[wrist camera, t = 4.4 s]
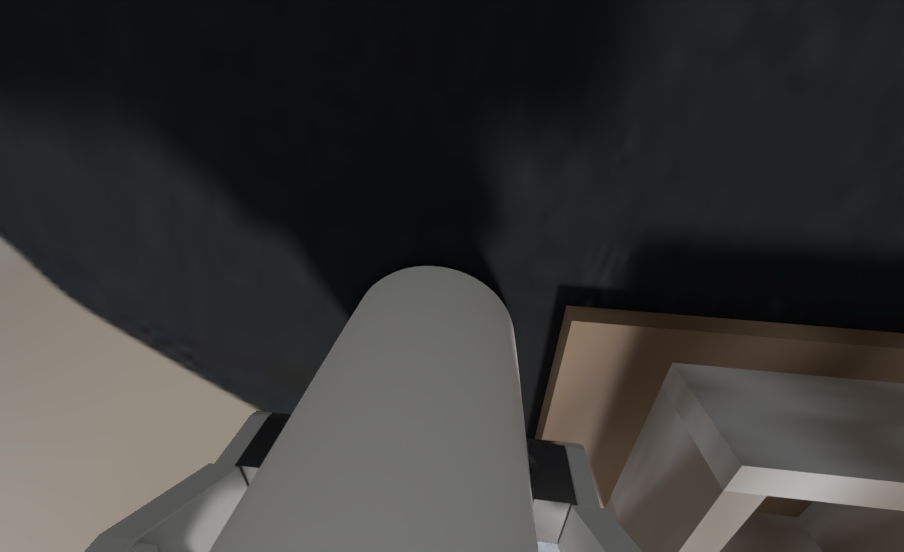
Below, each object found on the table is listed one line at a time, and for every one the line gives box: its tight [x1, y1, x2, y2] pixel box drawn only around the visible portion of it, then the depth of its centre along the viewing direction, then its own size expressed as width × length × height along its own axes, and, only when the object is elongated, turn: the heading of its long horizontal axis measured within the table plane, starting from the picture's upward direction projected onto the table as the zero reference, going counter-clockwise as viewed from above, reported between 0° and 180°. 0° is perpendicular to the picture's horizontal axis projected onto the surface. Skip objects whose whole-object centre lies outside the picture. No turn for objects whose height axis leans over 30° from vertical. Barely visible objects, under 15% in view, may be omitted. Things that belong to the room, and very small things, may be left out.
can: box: [209, 266, 538, 552], centre depth 9 cm, size 6×6×12 cm
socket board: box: [535, 305, 904, 552], centre depth 14 cm, size 18×13×6 cm
